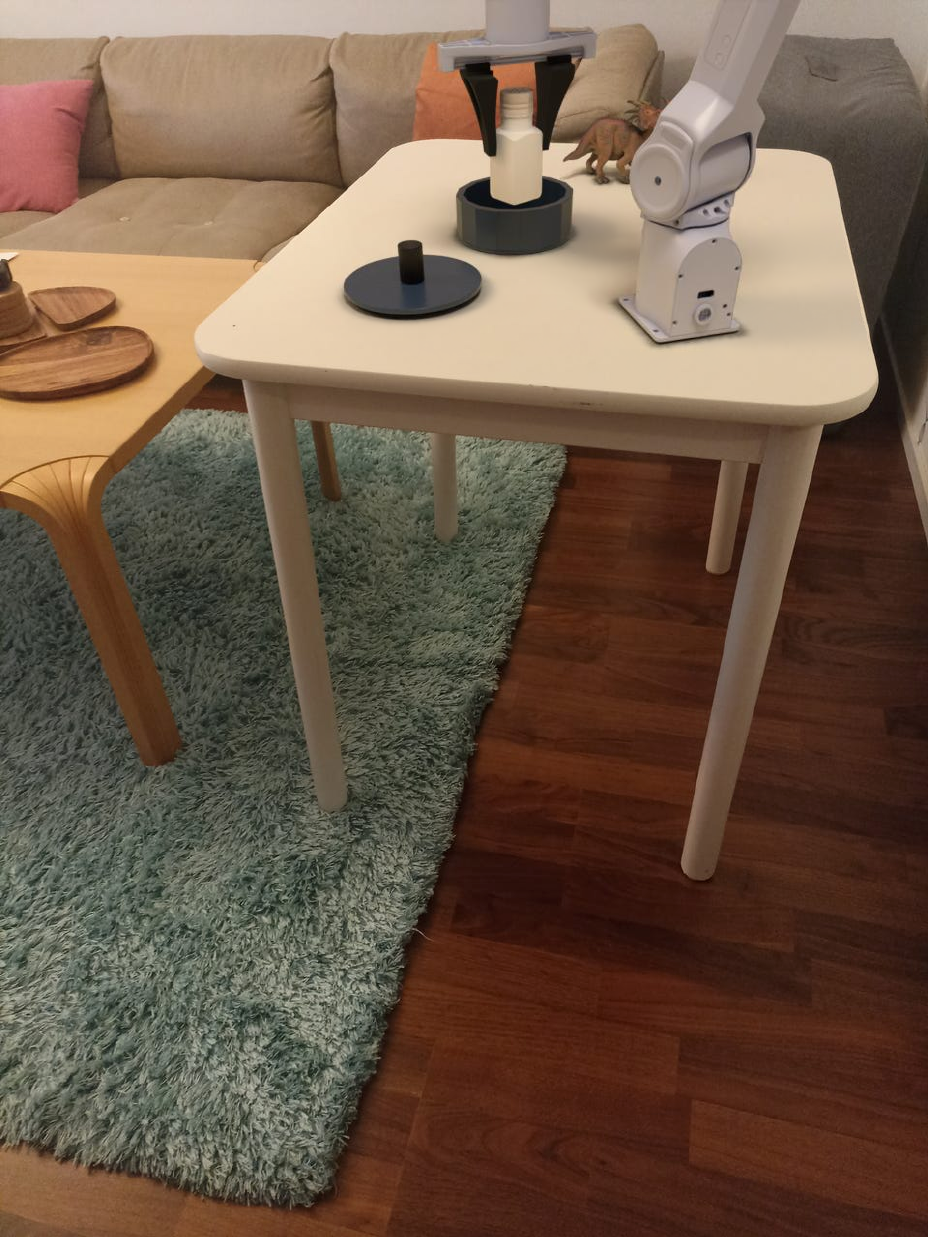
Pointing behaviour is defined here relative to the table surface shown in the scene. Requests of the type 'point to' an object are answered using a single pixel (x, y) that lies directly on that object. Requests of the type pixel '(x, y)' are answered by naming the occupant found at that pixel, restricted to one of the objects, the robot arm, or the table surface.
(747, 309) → the table surface
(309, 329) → the table surface
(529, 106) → the salt shaker
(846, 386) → the table surface
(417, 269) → the lid
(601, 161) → the dinosaur figurine
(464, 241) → the pot
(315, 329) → the table surface
